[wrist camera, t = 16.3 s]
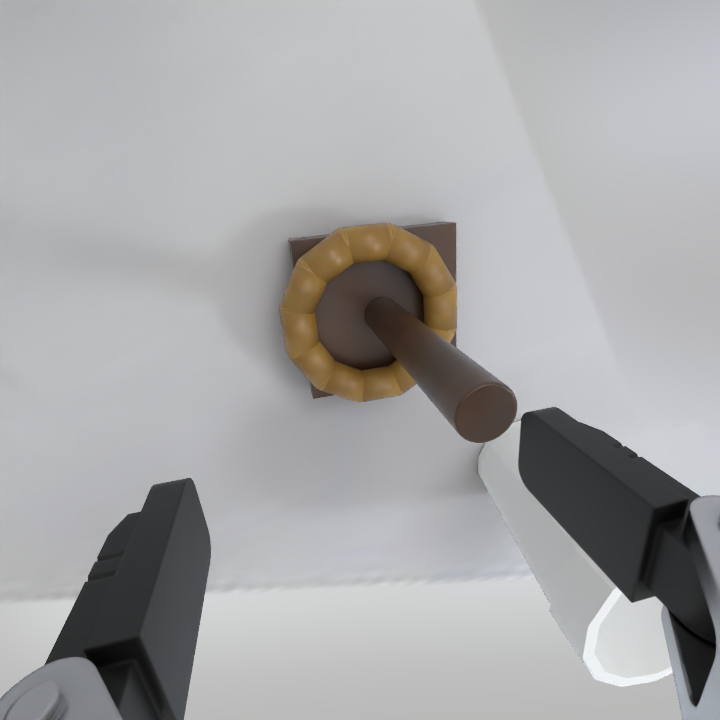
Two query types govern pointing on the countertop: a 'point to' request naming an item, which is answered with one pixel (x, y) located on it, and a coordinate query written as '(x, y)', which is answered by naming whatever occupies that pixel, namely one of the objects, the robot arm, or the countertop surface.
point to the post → (408, 337)
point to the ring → (329, 263)
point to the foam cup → (576, 580)
